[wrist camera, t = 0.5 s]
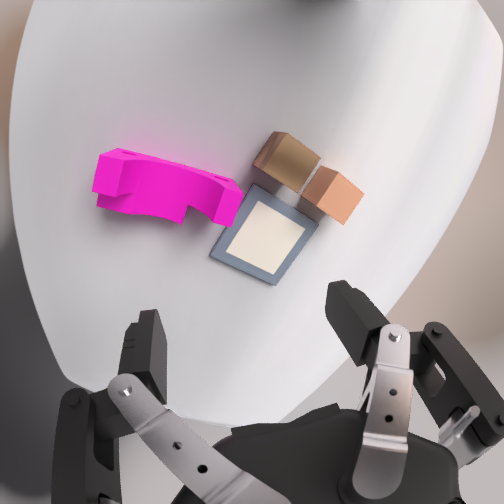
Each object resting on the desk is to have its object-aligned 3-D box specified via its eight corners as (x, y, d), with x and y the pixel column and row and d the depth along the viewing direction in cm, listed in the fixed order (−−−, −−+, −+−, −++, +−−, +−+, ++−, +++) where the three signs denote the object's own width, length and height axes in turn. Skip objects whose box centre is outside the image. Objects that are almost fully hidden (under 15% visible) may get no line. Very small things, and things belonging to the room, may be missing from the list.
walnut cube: (273, 131, 32) (287, 132, 28) (304, 152, 34) (320, 158, 30) (252, 164, 33) (262, 170, 29) (283, 183, 35) (297, 193, 31)
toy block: (106, 195, 31) (88, 214, 24) (118, 148, 29) (99, 154, 22) (216, 224, 36) (223, 248, 30) (232, 179, 34) (243, 193, 27)
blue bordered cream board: (253, 183, 34) (255, 184, 34) (316, 223, 39) (319, 225, 38) (209, 253, 37) (210, 256, 37) (273, 283, 42) (275, 286, 41)
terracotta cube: (320, 165, 35) (338, 172, 31) (345, 184, 37) (364, 193, 33) (300, 195, 37) (316, 206, 32) (326, 213, 39) (343, 225, 34)
